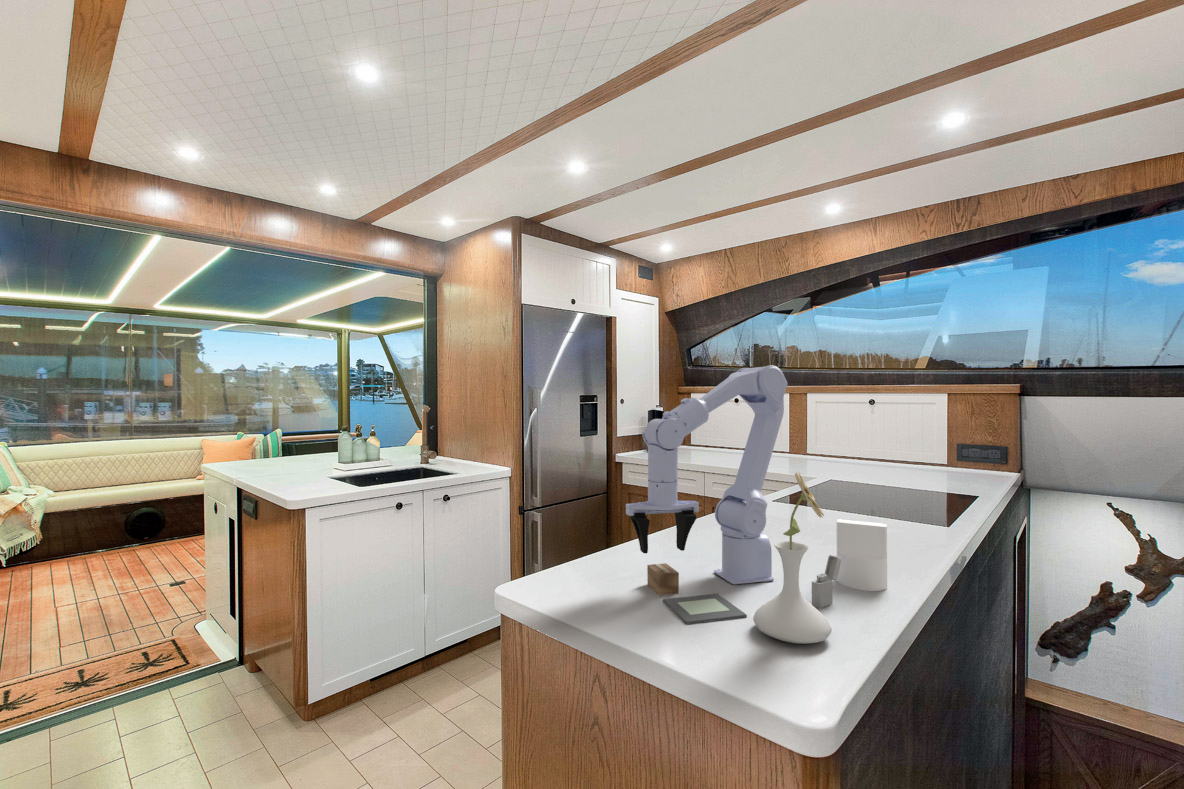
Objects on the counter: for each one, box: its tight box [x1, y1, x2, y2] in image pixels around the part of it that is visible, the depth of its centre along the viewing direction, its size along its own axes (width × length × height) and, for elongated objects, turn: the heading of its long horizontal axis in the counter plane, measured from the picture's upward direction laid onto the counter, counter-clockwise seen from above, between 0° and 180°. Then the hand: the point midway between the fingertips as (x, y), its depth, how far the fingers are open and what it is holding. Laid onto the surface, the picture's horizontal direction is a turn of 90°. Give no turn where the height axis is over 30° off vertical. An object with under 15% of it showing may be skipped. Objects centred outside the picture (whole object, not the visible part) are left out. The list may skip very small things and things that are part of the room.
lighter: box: [811, 554, 841, 610], centre depth 93 cm, size 7×2×8 cm, turn 126°
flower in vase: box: [752, 471, 832, 645], centre depth 81 cm, size 13×11×25 cm
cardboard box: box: [646, 562, 680, 596], centre depth 100 cm, size 4×6×4 cm, turn 15°
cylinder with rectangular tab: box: [836, 518, 888, 592], centre depth 104 cm, size 9×9×12 cm
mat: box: [662, 593, 748, 625], centre depth 90 cm, size 11×10×1 cm
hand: (662, 550), depth 100 cm, fingers open, 7 cm apart
